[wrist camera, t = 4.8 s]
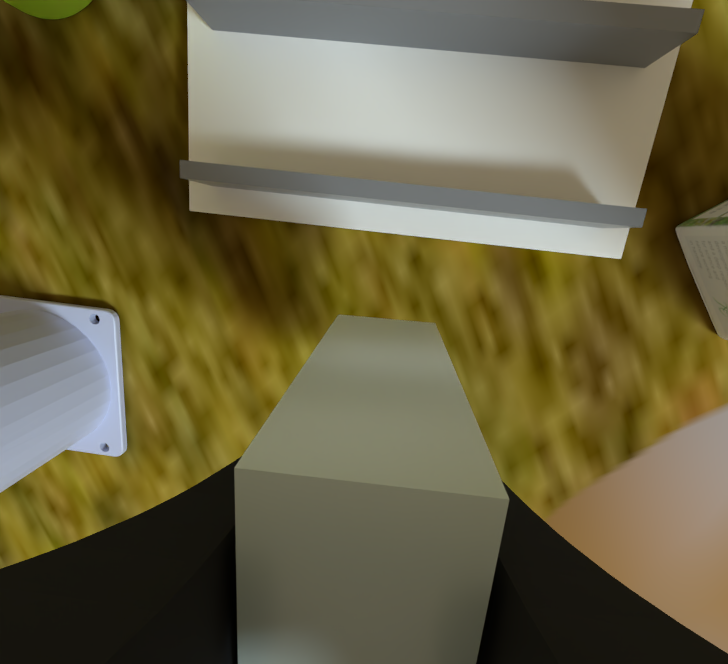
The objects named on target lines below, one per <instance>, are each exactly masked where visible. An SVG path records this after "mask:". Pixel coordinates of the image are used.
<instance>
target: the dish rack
mask: <svg viewBox="0 0 728 664" xmlns="http://www.w3.org/2000/svg"><path fill="white" fill-rule="evenodd" d="M186 1H187V27H188V120H189V161H186V160H180V178H182V179H186V180H189V211H195V212H204V213H213V214H222V215H231V216H240V217H249V218H258V219H267V220H276V221H285V222H294V223H303V224H312V225H321V226H329V227H338V228H347V229H356V230H365V231H374V232H383V233H392V234H401V235H410V236H419V237H428V238H437V239H446V240H455V241H464V242H473V243H482V244H491V245H499V246H508V247H517V248H526V249H535V250H544V251H553V252H562V253H571V254H580V255H589V256H598V257H607V258H616V259H621V257H622V254H623V250H624V246H625V243H626V239H627V236H628V232H629V228H642V226H643V222H644V219H645V215H646V212H647V209H643V208H635V207H636V203H637V200H638V196H639V193H640V189H641V185H642V182H643V178H644V175H645V171H646V167H647V164H648V160H649V157H650V153H651V149H652V146H653V142H654V139H655V135H656V131H657V128H658V124H659V121H660V117H661V114H662V110H663V106H664V103H665V99H666V96H667V92H668V88H669V85H670V81H671V78H672V74H673V70H674V67H675V63H676V60H677V56H678V53H679V49H680V45H681V44H682V43H684V42H685V41H687V40H688V39H690V38H691V37H693V36H694V35H696V34H697V33H698V30H699V27H700V23H701V20H702V16H703V13H704V9H692V8H691V6H692V2H693V0H186Z"/></svg>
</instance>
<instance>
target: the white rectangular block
mask: <svg viewBox="0 0 728 664" xmlns="http://www.w3.org/2000/svg"><path fill="white" fill-rule="evenodd" d="M234 480H235V535H236V590H237V646H238V664H476V662H477V657H478V652H479V647H480V642H481V637H482V632H483V627H484V622H485V617H486V612H487V607H488V603H489V598H490V593H491V588H492V583H493V578H494V573H495V568H496V563H497V558H498V553H499V548H500V543H501V539H502V534H503V529H504V524H505V519H506V514H507V509H508V504H509V497H508V495H507V492H506V490H505V488H504V485H503V483H502V481H501V478H500V476H499V473H498V471H497V469H496V466H495V464H494V462H493V459H492V457H491V455H490V452H489V450H488V447H487V445H486V443H485V440H484V438H483V436H482V433H481V431H480V428H479V426H478V424H477V421H476V419H475V417H474V414H473V412H472V410H471V407H470V405H469V402H468V400H467V398H466V395H465V393H464V391H463V388H462V386H461V383H460V381H459V379H458V376H457V374H456V372H455V369H454V367H453V365H452V362H451V360H450V357H449V355H448V353H447V350H446V348H445V346H444V343H443V341H442V338H441V336H440V334H439V331H438V329H437V327H436V324H435V323H427V322H416V321H404V320H393V319H382V318H371V317H360V316H348V315H338V316H337V317H336V319H335V320H334V322H333V323H332V325H331V326H330V328H329V329H328V331H327V332H326V334H325V335H324V337H323V338H322V340H321V341H320V342H319V344H318V345H317V347H316V348H315V350H314V351H313V353H312V354H311V356H310V357H309V359H308V360H307V362H306V363H305V365H304V366H303V367H302V369H301V370H300V372H299V373H298V375H297V376H296V378H295V379H294V381H293V382H292V384H291V385H290V387H289V388H288V390H287V391H286V392H285V394H284V395H283V397H282V398H281V400H280V401H279V403H278V404H277V406H276V407H275V409H274V410H273V412H272V413H271V415H270V416H269V417H268V419H267V420H266V422H265V423H264V425H263V426H262V428H261V429H260V431H259V432H258V434H257V435H256V437H255V438H254V440H253V441H252V442H251V444H250V445H249V447H248V448H247V450H246V451H245V453H244V454H243V456H242V457H241V459H240V460H239V462H238V463H237V465H236V466H235V468H234Z"/></svg>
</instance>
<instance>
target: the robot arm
mask: <svg viewBox="0 0 728 664" xmlns="http://www.w3.org/2000/svg"><path fill="white" fill-rule="evenodd" d="M96 315H97V316H98V317H99V319H100V321H99V322H98V321H97V320H96V317H95V316H96ZM105 443H106V444H107V445H108V446H109V447H107V446H106V444H105ZM66 449H67V450H74V451H81V452H87V453H94V454H101V455H108V456H120V455H122V454H123V453H124V452H125V451H126V450H127V436H126V420H125V403H124V387H123V370H122V354H121V338H120V321H119V316H118V315H117V313H116V312H115V311H113V310H111V309H106V308H98V307H90V306H82V305H74V304H66V303H58V302H51V301H43V300H35V299H27V298H19V297H11V296H3V295H0V493H1V492H2V491H4V490H5V489H7V488H8V487H10V486H11V485H13V484H14V483H16V482H17V481H19V480H20V479H22V478H23V477H25V476H26V475H28V474H29V473H31V472H32V471H34V470H35V469H37V468H38V467H40V466H42V465H43V464H45V463H46V462H48V461H49V460H51V459H52V458H54V457H55V456H57V455H58V454H60V453H61V452H63V451H64V450H66ZM241 457H242V456H241ZM241 457H240V458H239V459H237V460H236V461H234V462H233V463H231V464H229V465H228V466H226V467H224V468H223V469H221V470H220V471H218V472H216V473H215V474H213V475H211V476H210V477H208V478H207V479H205V480H203V481H202V482H200V483H198V484H197V485H195V486H193V487H191V488H190V489H188V490H186V491H184V492H182V493H181V494H179V495H177V496H175V497H173V498H171V499H169V500H167V501H165V502H163V503H161V504H159V505H157V506H155V507H153V508H151V509H149V510H147V511H145V512H143V513H141V514H139V515H137V516H135V517H132V518H130V519H128V520H125V521H123V522H121V523H118V524H116V525H114V526H111V527H109V528H106V529H104V530H102V531H99V532H97V533H95V534H92V535H90V536H88V537H85V538H83V539H81V540H78V541H76V542H73V543H71V544H68V545H66V546H63V547H60V548H58V549H55V550H52V551H50V552H47V553H44V554H41V555H39V556H36V557H33V558H31V559H28V560H25V561H22V562H19V563H16V564H13V565H10V566H7V567H4V568H2V569H0V664H238V646H237V590H236V535H235V480H234V468H235V466H236V465H237V463H238V462H239V460H240V459H241ZM501 481H502V480H501ZM502 483H503V485H504V488H505V490H506V492H507V495H508V497H509V504H508V509H507V514H506V519H505V524H504V529H503V534H502V539H501V543H500V548H499V553H498V558H497V563H496V568H495V573H494V578H493V583H492V588H491V593H490V598H489V603H488V607H487V612H486V617H485V622H484V627H483V632H482V637H481V642H480V647H479V652H478V657H477V662H476V664H728V654H727V653H726V652H724V651H723V650H721V649H719V648H718V647H716V646H715V645H713V644H711V643H710V642H708V641H707V640H705V639H704V638H702V637H700V636H699V635H697V634H696V633H694V632H693V631H691V630H690V629H688V628H686V627H685V626H683V625H682V624H680V623H679V622H677V621H676V620H674V619H673V618H671V617H670V616H668V615H667V614H665V613H664V612H662V611H661V610H660V609H658V608H657V607H655V606H654V605H652V604H651V603H649V602H648V601H646V600H645V599H643V598H642V597H640V596H639V595H638V594H636V593H635V592H633V591H632V590H630V589H629V588H627V587H626V586H625V585H623V584H622V583H621V582H619V581H618V580H617V579H615V578H613V577H612V576H611V575H610V574H608V573H607V572H606V571H604V570H603V569H602V568H600V567H599V566H598V565H597V564H595V563H594V562H593V561H591V560H590V559H589V558H588V557H587V556H585V555H584V554H583V553H581V552H580V551H579V550H578V549H576V548H575V547H574V546H572V545H571V544H570V543H569V542H567V541H566V540H565V539H564V538H563V537H562V536H560V535H559V534H558V533H557V532H556V531H555V530H553V529H552V528H551V527H550V526H549V525H548V524H547V523H546V522H545V521H543V520H542V519H541V518H540V517H539V516H538V515H537V514H536V513H535V512H533V511H532V510H531V509H530V508H529V507H528V506H527V505H526V504H525V503H524V502H523V501H522V500H521V499H520V498H519V497H518V496H517V495H516V494H515V493H514V492H512V491H511V490H510V488H509V487H508V486H507V485H506V484H505V483H504V482H503V481H502Z"/></svg>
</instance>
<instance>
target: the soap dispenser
mask: <svg viewBox="0 0 728 664" xmlns="http://www.w3.org/2000/svg"><path fill="white" fill-rule="evenodd" d="M3 1H5V2H7V3H8V4H10V5H12V6H13V7H15V8H17V9H19V10H20V11H22V12H24V13H26V14H29V15H31V16H34V17H38V18H42V19H62V18H66V17H69V16H72V15H74V14H76V13H78V12H79V11H81V10H82V9H84V8H85V7H86V6H87V5H88V4H89V3H90V2H91V1H92V0H3Z"/></svg>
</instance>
